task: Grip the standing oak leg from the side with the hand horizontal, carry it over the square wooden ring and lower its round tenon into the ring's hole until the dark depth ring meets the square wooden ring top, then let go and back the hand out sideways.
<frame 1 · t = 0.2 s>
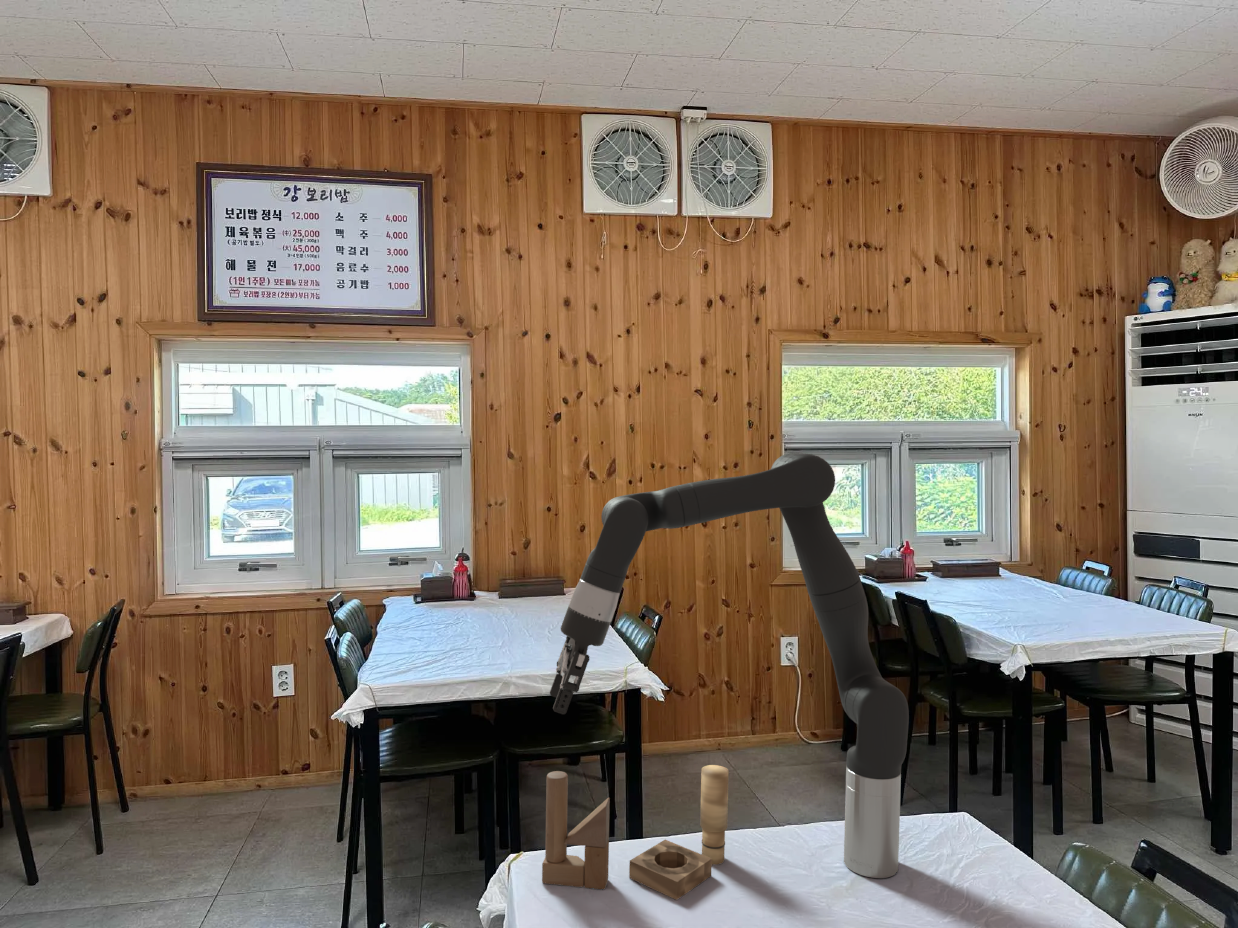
hand: (556, 704, 136), 31 cm above the table, tool tilted 20°, fingers open, 8 cm apart
wooden block: (575, 882, 138), on the table
oak leg: (713, 858, 147), on the table
square wooden ring: (670, 876, 140), on the table
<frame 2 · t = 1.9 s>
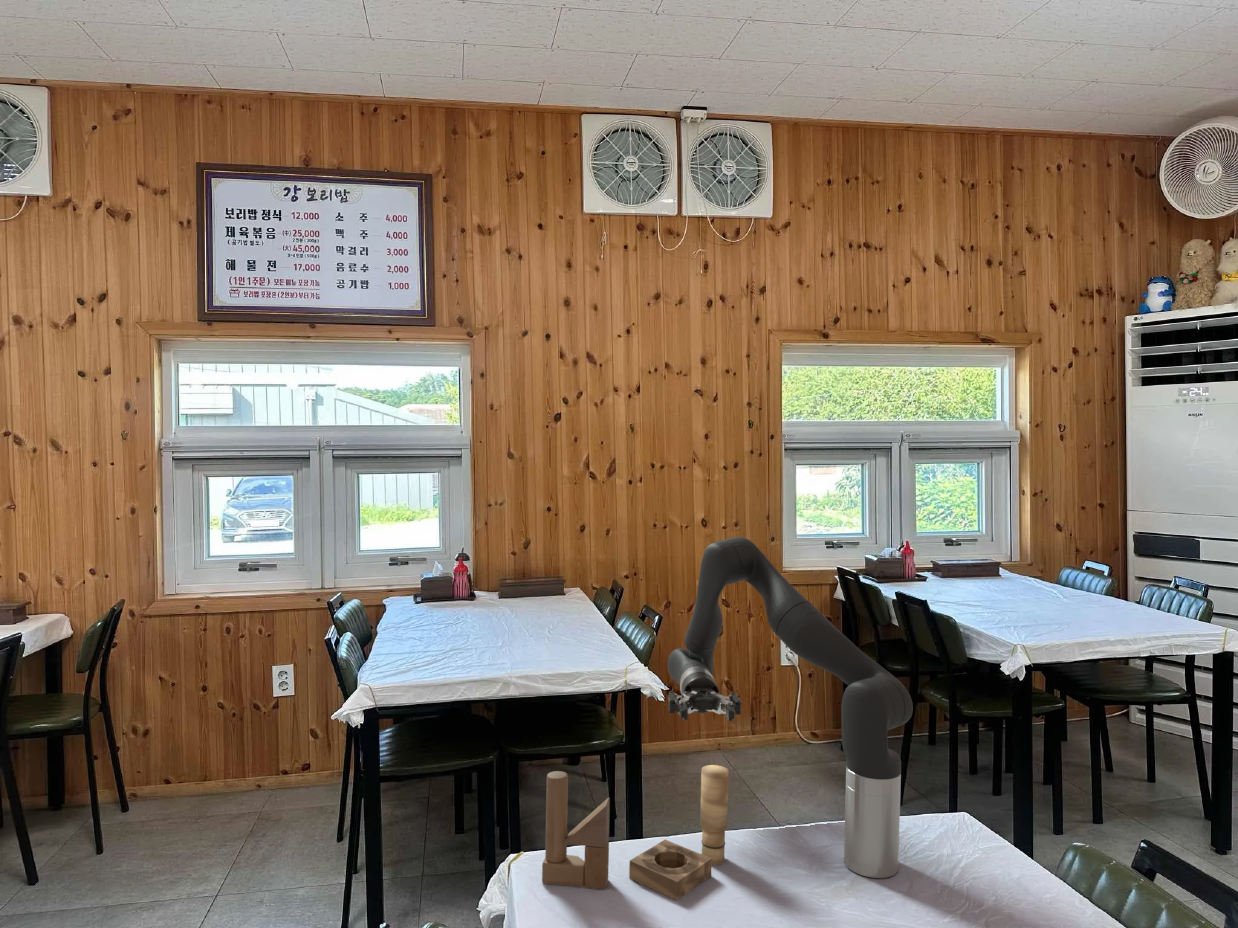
hand: (708, 715, 157), 22 cm above the table, tool horizontal, fingers open, 8 cm apart
nothing on the table moved.
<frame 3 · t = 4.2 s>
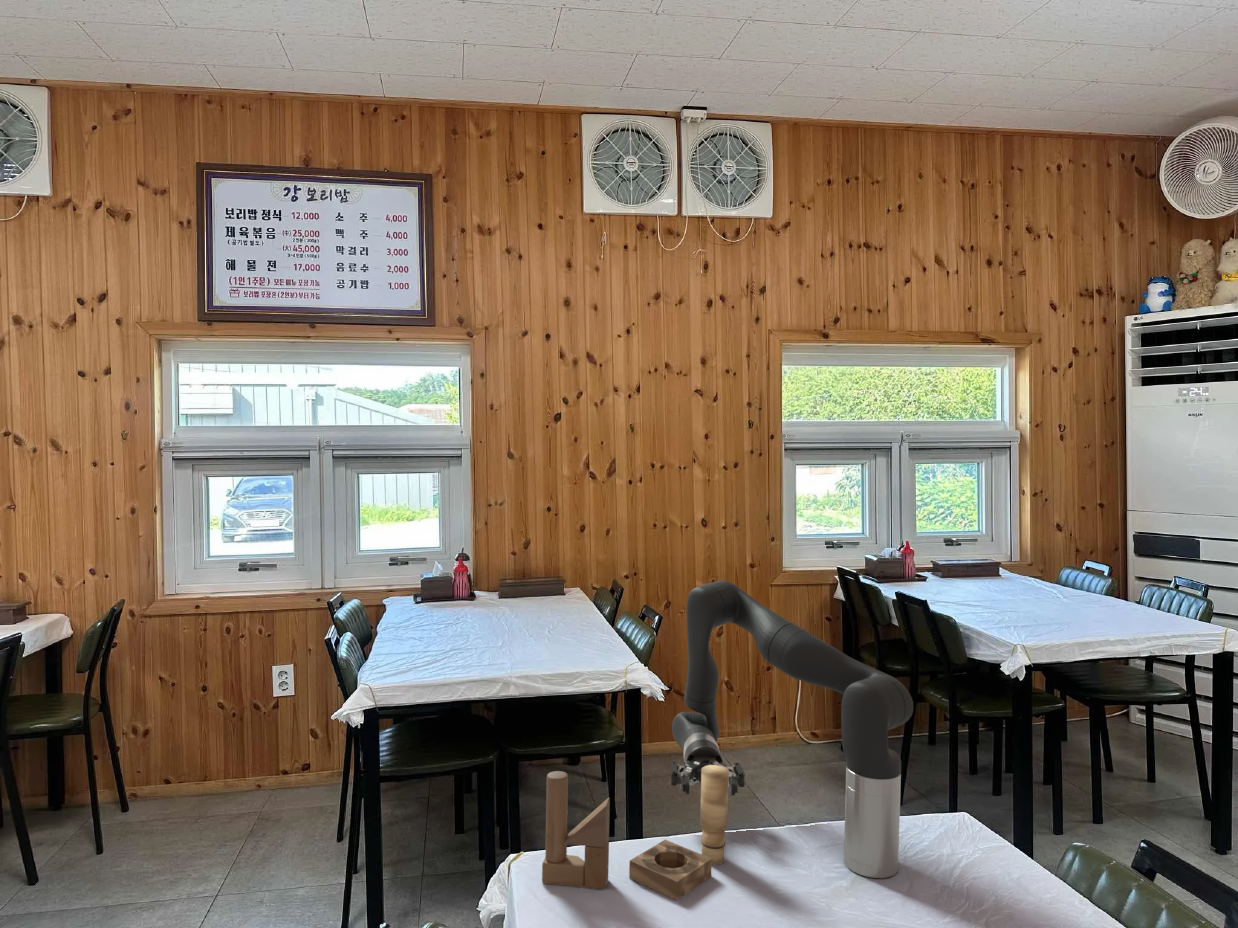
hand: (710, 789, 153), 9 cm above the table, tool horizontal, fingers open, 8 cm apart
nothing on the table moved.
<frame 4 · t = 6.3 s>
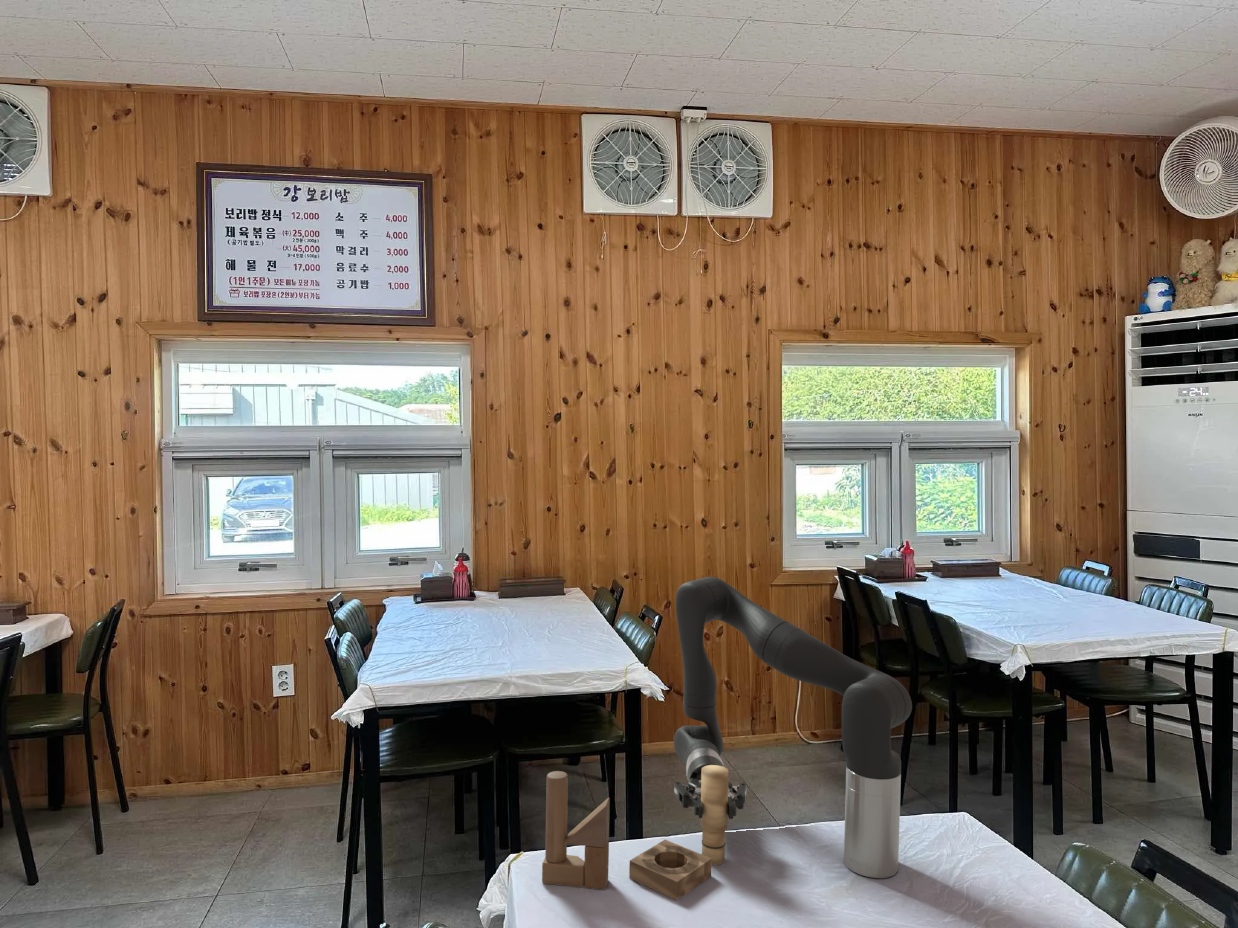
hand: (716, 812, 144), 10 cm above the table, tool horizontal, fingers closed on oak leg, 4 cm apart
oak leg: (713, 858, 147), on the table, touching gripper
everything else where it was.
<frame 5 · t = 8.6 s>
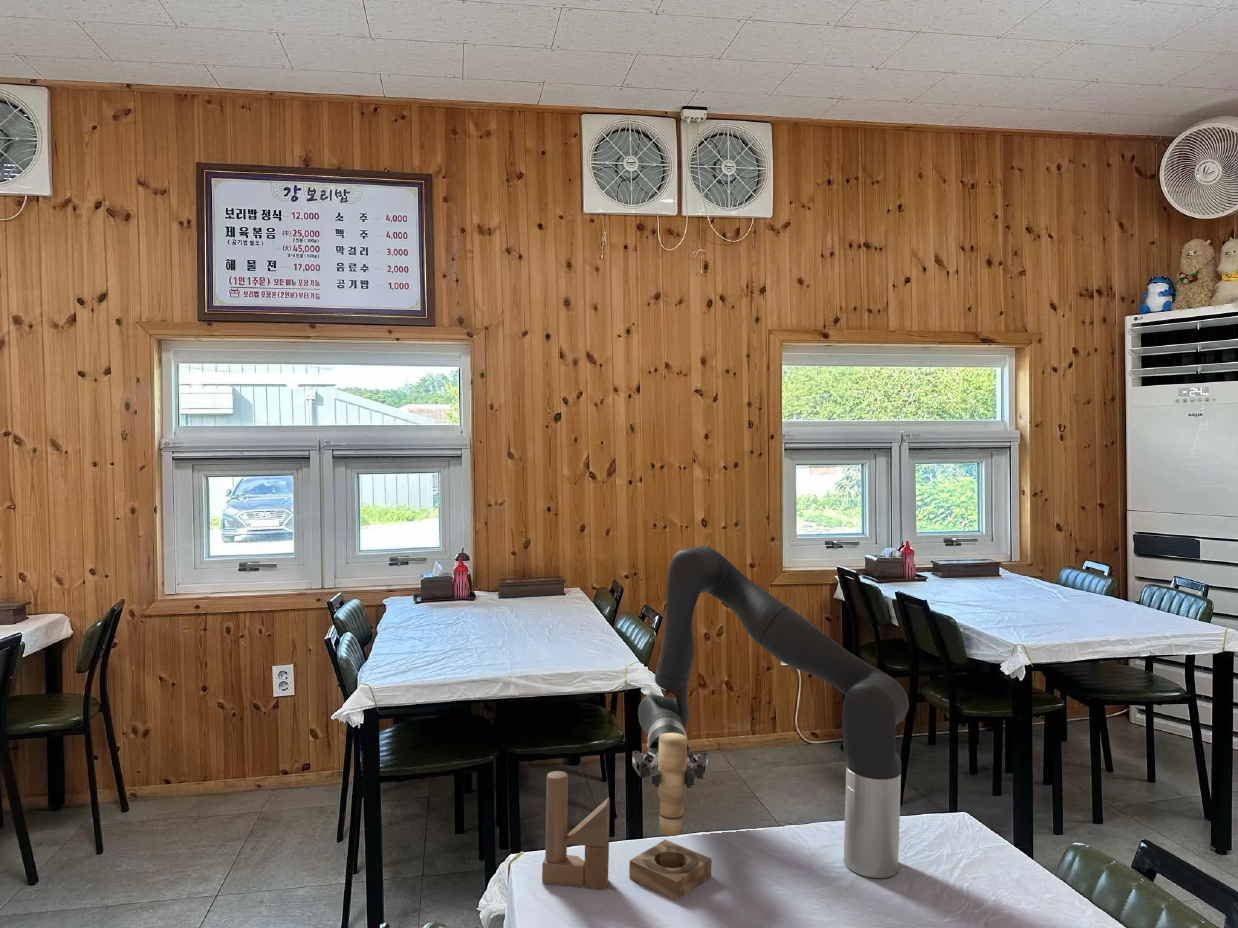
hand: (673, 781, 137), 18 cm above the table, tool horizontal, fingers closed on oak leg, 4 cm apart
oak leg: (670, 830, 140), point 8 cm above the table, touching gripper
everything else where it was.
when the fingers open (10 cm above the table, at t = 10.6 s): oak leg stays where it is, resting in square wooden ring.
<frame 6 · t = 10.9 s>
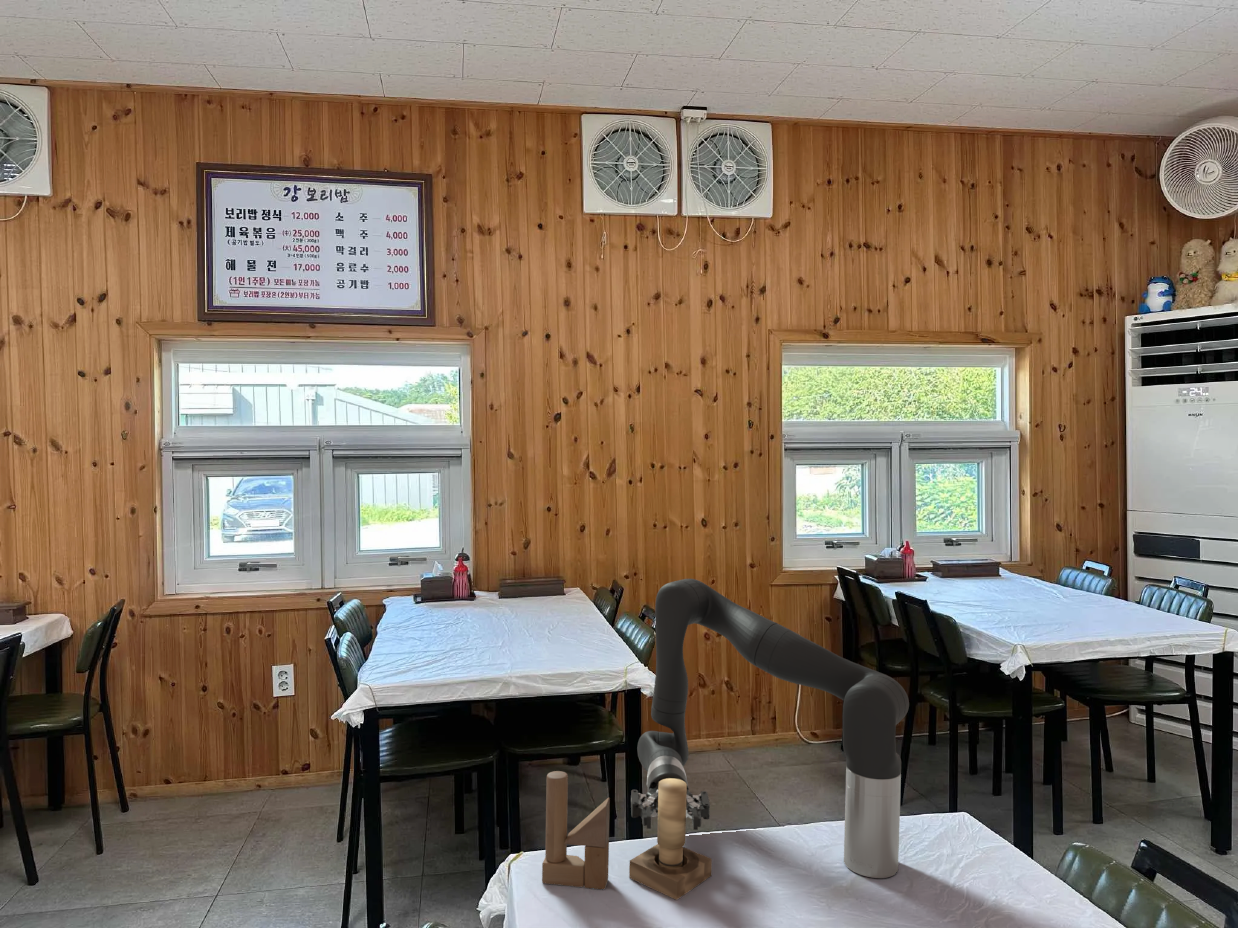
hand: (672, 823, 138), 10 cm above the table, tool horizontal, fingers open, 7 cm apart
oak leg: (670, 876, 140), resting in square wooden ring
everything else where it was.
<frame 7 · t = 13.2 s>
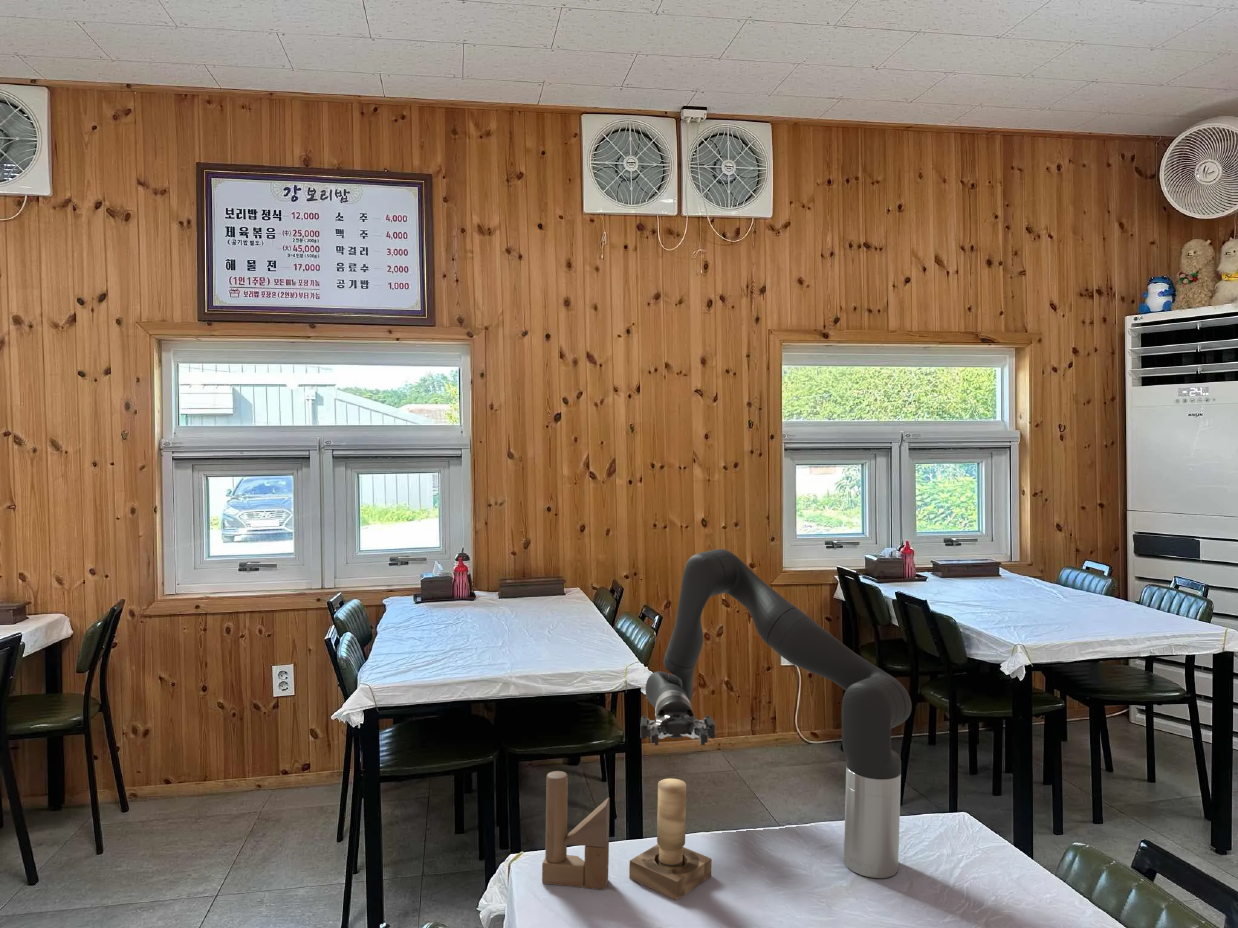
hand: (679, 740, 151), 20 cm above the table, tool horizontal, fingers open, 8 cm apart
nothing on the table moved.
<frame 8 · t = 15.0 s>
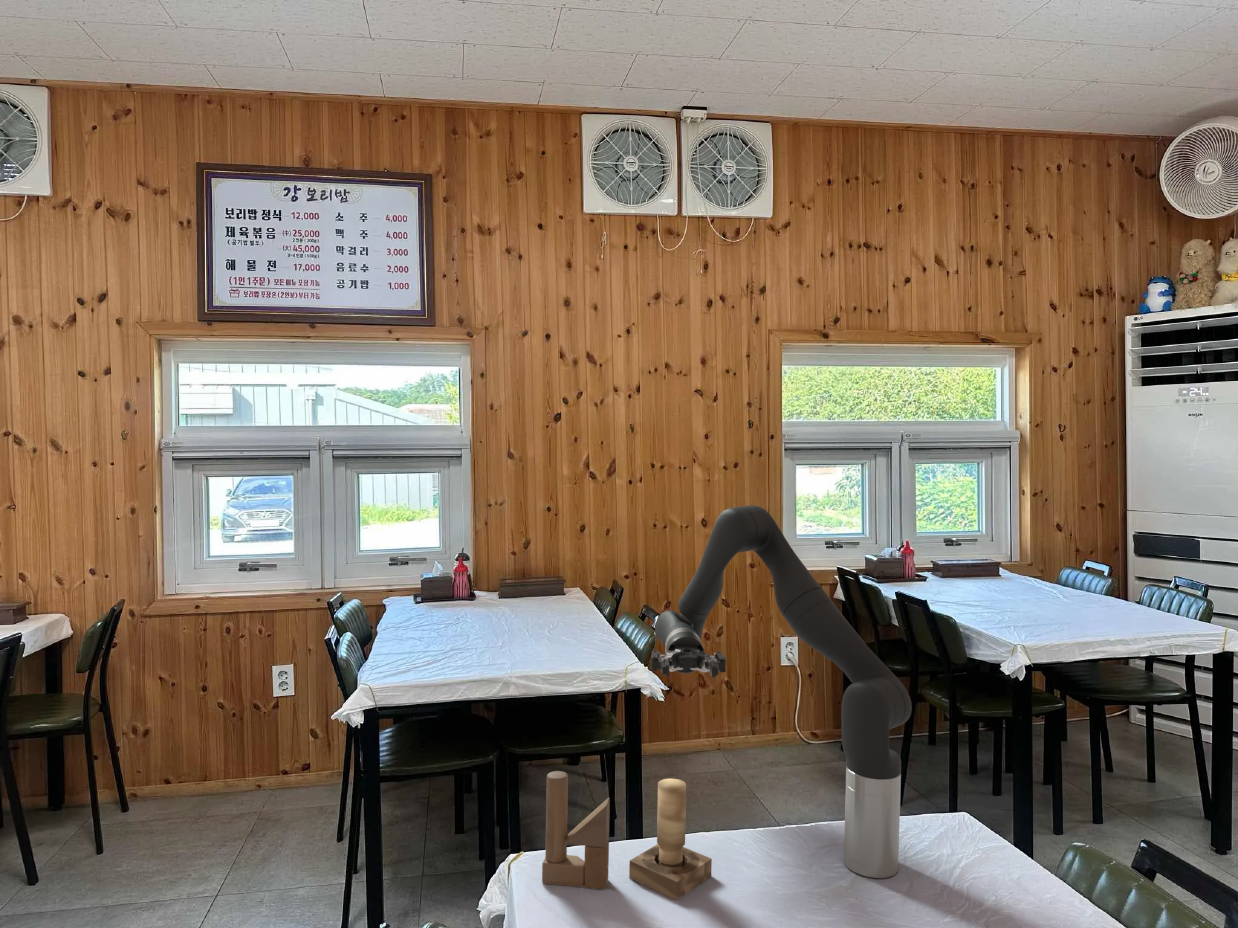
hand: (690, 671, 151), 32 cm above the table, tool horizontal, fingers open, 8 cm apart
nothing on the table moved.
at the end: oak leg 0.1 cm off-centre in the square wooden ring, point 0.0 cm above the square wooden ring's base; oak leg tilted 0°; the gripper is holding nothing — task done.
